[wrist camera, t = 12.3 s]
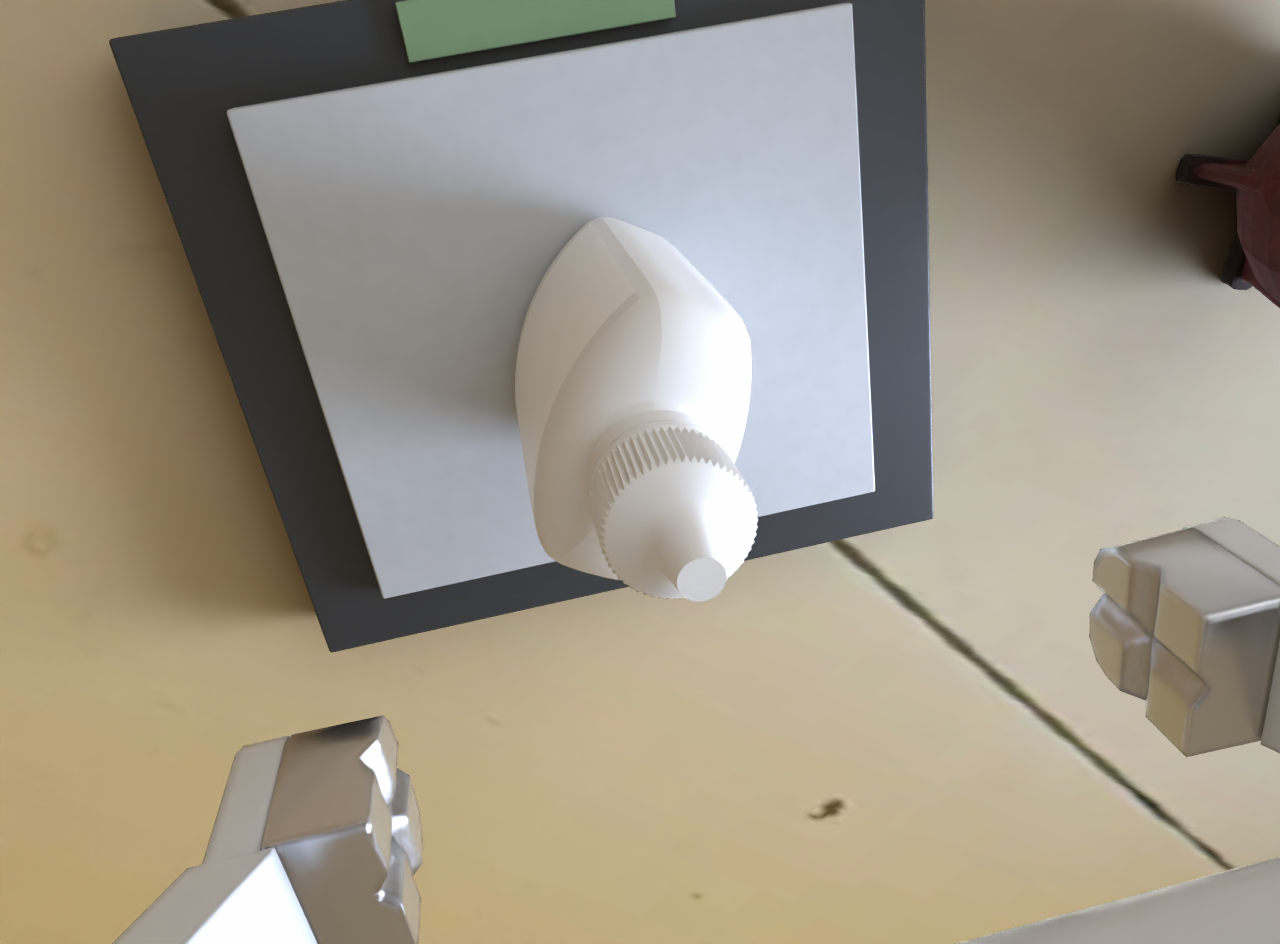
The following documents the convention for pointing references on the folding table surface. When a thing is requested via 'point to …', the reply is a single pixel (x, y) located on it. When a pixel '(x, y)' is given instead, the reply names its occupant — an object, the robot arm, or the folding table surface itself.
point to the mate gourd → (1247, 212)
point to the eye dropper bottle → (635, 415)
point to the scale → (540, 258)
